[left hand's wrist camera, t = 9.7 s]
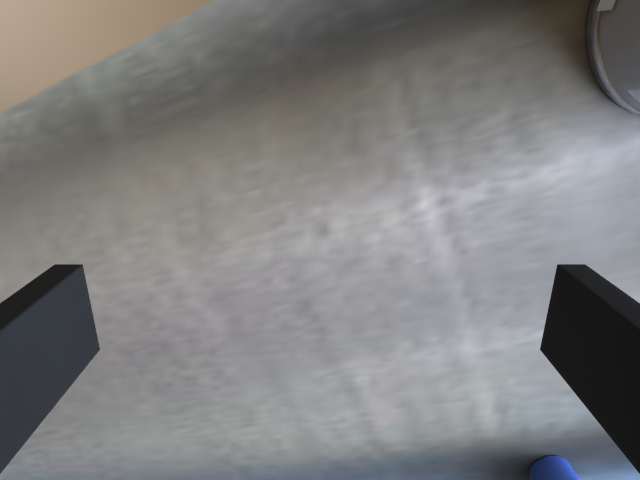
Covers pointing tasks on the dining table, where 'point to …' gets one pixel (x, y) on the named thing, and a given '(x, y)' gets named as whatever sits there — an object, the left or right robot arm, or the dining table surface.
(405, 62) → the dining table surface
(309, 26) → the dining table surface
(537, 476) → the canister
